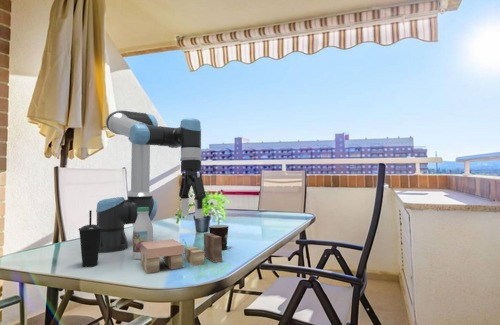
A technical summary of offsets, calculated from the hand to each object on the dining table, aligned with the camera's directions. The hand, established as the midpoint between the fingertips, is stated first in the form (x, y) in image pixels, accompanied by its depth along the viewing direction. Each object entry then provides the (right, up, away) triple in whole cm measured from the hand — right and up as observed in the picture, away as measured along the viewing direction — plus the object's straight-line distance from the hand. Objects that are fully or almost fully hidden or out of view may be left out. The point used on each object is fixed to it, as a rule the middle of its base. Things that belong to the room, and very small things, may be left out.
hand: (191, 216), depth 116 cm
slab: (-9, -12, -6) cm, 16 cm away
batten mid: (-6, -17, -5) cm, 18 cm away
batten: (+1, -17, -1) cm, 17 cm away
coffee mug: (+7, -18, +19) cm, 27 cm away
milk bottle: (-21, -18, +9) cm, 29 cm away
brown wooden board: (+8, -17, +3) cm, 18 cm away
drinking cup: (-37, -18, -2) cm, 41 cm away
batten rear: (-13, -16, -8) cm, 23 cm away
